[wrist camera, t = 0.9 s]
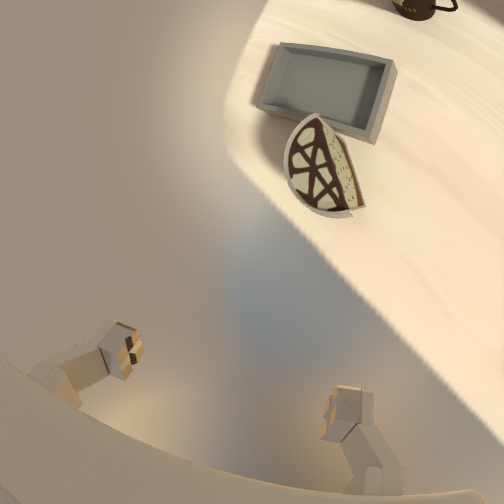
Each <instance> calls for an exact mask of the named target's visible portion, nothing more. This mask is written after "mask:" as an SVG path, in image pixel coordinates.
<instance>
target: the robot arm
mask: <svg viewBox="0 0 504 504" xmlns="http://www.w3.org/2000/svg"><path fill="white" fill-rule="evenodd" d="M140 337H141V334H140V331H139V330H137V329H134V328H132V327H129V326H127V325H124V324H122V323H120V322H117V321H115V320H113V319H110V318H109V319H107V320H106V321H105V322H104V323H103V324H102V325H101V326H100V328H99V329H98V330H97V331H96V332H95V333H94V335H93V336H92V337H91V338H90V339H89V340H88V342H86V341H83V342H80V343H78V344H75V345H73V346H70V347H67V348H65V349H62V350H59V351H57V352H54V353H52V354H49V355H46V356H44V357H42V358H41V359H40V361H39V362H38V363H37V364H36V365H35V366H34V367H33V369H32V370H31V371H30V372H29V374H28V375H26V374H24V373H23V372H22V371H20V370H19V369H18V368H16V367H15V366H14V365H13V364H11V363H10V362H9V361H7V360H6V359H5V358H4V357H3V356H1V355H0V504H487V503H486V501H485V500H484V499H483V497H482V496H481V495H480V494H479V493H478V492H477V491H476V490H473V489H471V490H463V491H455V492H446V493H436V494H424V495H403V483H404V467H403V466H402V464H401V462H400V461H399V459H398V458H397V456H396V454H395V453H394V451H393V450H392V448H391V447H390V445H389V443H388V442H387V440H386V439H385V437H384V436H383V435H382V433H381V431H380V429H379V428H378V426H375V425H374V392H373V391H372V390H366V389H360V388H354V387H348V386H342V385H336V386H335V388H334V389H333V395H331V396H329V398H328V400H327V403H326V405H325V410H324V416H323V417H324V418H325V420H326V421H325V422H324V424H323V425H322V431H321V438H320V440H325V441H331V442H336V443H340V446H341V448H342V450H343V453H344V455H345V457H346V459H347V461H348V464H349V466H350V468H351V470H352V473H353V475H354V477H355V478H353V479H352V480H351V481H349V482H348V483H346V484H345V485H344V486H342V492H341V493H330V492H322V491H313V490H306V489H300V488H294V487H288V486H282V485H277V484H272V483H267V482H263V481H257V480H254V479H250V478H246V477H242V476H238V475H234V474H230V473H227V472H223V471H220V470H217V469H213V468H210V467H207V466H204V465H201V464H198V463H195V462H192V461H189V460H186V459H183V458H181V457H178V456H175V455H173V454H170V453H167V452H165V451H162V450H160V449H158V448H155V447H153V446H150V445H148V444H146V443H143V442H141V441H139V440H137V439H135V438H132V437H130V436H128V435H126V434H124V433H122V432H120V431H118V430H116V429H114V428H112V427H110V426H108V425H106V424H104V423H102V422H100V421H98V420H97V419H95V418H93V417H91V416H89V415H88V414H86V413H84V412H82V411H81V410H79V408H80V406H81V405H82V401H81V400H80V398H79V396H78V394H77V393H78V392H80V391H82V390H84V389H85V388H87V387H89V386H91V385H93V384H94V383H96V382H98V381H100V380H102V379H103V378H105V377H107V376H109V374H110V375H112V376H114V377H117V378H119V379H121V380H124V381H126V380H127V378H128V377H129V375H130V374H131V372H132V365H134V364H136V363H138V361H139V360H140V358H141V356H142V353H143V344H142V342H141V341H140V340H139V338H140Z"/></svg>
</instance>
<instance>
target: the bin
mask: <svg viewBox="0 0 504 504" xmlns="http://www.w3.org/2000/svg"><path fill="white" fill-rule="evenodd" d="M396 76H397V69H396V66H395V64H394V61H393V60H390V59H386V58H381V57H377V56H373V55H368V54H363V53H358V52H353V51H347V50H341V49H335V48H329V47H321V46H314V45H305V44H295V43H283V42H280V45H279V47H278V50H277V52H276V55H275V58H274V60H273V63H272V66H271V68H270V71H269V74H268V77H267V79H266V82H265V85H264V88H263V90H262V93H261V96H260V99H259V101H258V104H257V108H258V109H260V110H262V111H264V112H266V113H268V114H271V115H275V116H280V117H284V118H288V119H292V120H295V121H299V122H301V121H302V120H304V119H305V118H306V117H308V116H309V115H311V114H313V113H318V114H320V115H321V116H319V117H320V118H321V119H322V120H323V121H324V122H325V123H326V124H327V125H329V126H330V127H331V128H332V129H333V130H334V131H335V132H337V133H340V134H343V135H347V136H350V137H353V138H356V139H359V140H362V141H364V142H367V143H370V144H373V145H375V144H376V141H377V138H378V135H379V132H380V129H381V125H382V122H383V119H384V116H385V113H386V110H387V106H388V103H389V100H390V97H391V93H392V90H393V86H394V83H395V79H396Z"/></svg>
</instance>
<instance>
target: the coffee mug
mask: <svg viewBox="0 0 504 504" xmlns="http://www.w3.org/2000/svg"><path fill="white" fill-rule="evenodd" d="M451 1H452V3H453V5H454V7H453V8H446V7H440V6H436V0H392V2H393V4H394V5H395V7H396V9H397V11H398V12H399V13H400V14H401V15H402V16H404V17H405V18H407V19H410V20H414V21H424V20H427V19H430V18H431V17H432V16H433V15H434V13H435V9H437V10H442V11H447V12H453V11H456V10H457V9H458V5H457V2H456V0H451Z"/></svg>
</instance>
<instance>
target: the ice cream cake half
mask: <svg viewBox="0 0 504 504" xmlns="http://www.w3.org/2000/svg"><path fill="white" fill-rule="evenodd" d="M319 116H321V115H320V114H318V113H313V114H311V115H309V116H308V117H306V118H305V119H304V120H302V121H301V122H300V123H299V124H298V125H297V126H296V128H295V129H294V130H293V132H292V133H291V135H290V137H289V139H288V141H287V144H286V147H285V151H284V159H283V164H284V172H285V177H286V180H287V183H288V185H289V187H290V189H291V191H292V193H293V194H294V195H295V197H296V198H297V199H298V200H299V201H300V202H301V203H302V204H303V205H305V206H306V207H307V208H309V209H310V210H312V211H313V212H315V213H317V214H319V215H322V216H326V217H330V218H348V217H353V215H352V214H350V213H349V212H348V211H351V210H355V209H359V208H363V207H366V206H365V203H364V199H363V196H362V192H361V189H360V186H359V182H358V179H357V176H356V173H355V170H354V167H353V164H352V161H351V158H350V155H349V152H348V149H347V146H346V143H345V141H344V140H343V139H342V138H341V137H340V136H339V135H338V134H337V133H336V132H335V131H334V130H333V129H332V128H331V127H330V126H329V125H327V124H326V123H325V122H324V121H323V120H322V119H321V118H320V117H319Z"/></svg>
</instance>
